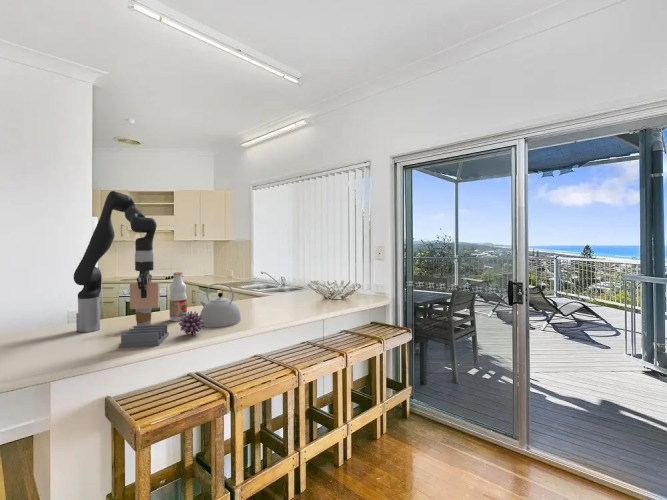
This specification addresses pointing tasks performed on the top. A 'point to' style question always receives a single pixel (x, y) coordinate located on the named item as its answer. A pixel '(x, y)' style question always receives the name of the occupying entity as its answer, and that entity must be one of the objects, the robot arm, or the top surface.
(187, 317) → the flower
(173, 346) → the top surface
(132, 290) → the tall peach block
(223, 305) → the kettle
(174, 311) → the fruit juice
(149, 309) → the coffee cup
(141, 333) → the rack
